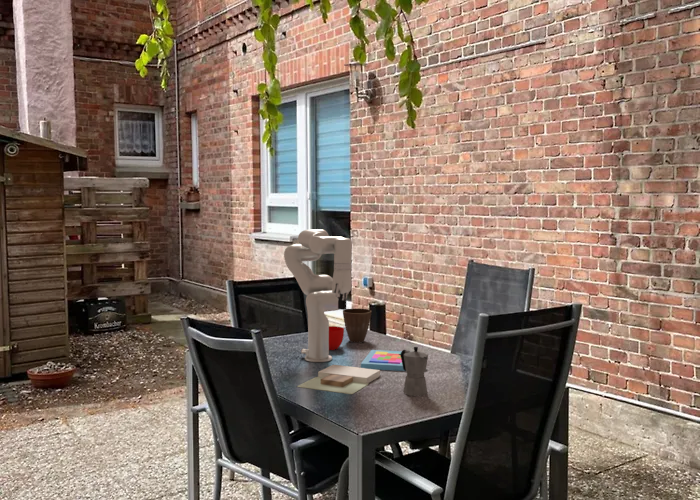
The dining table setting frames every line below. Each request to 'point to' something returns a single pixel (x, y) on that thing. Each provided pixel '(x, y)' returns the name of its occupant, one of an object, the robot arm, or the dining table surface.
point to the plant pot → (357, 323)
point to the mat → (347, 389)
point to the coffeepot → (414, 372)
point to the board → (351, 373)
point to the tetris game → (383, 360)
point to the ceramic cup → (335, 337)
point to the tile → (336, 380)
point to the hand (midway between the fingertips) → (342, 308)
